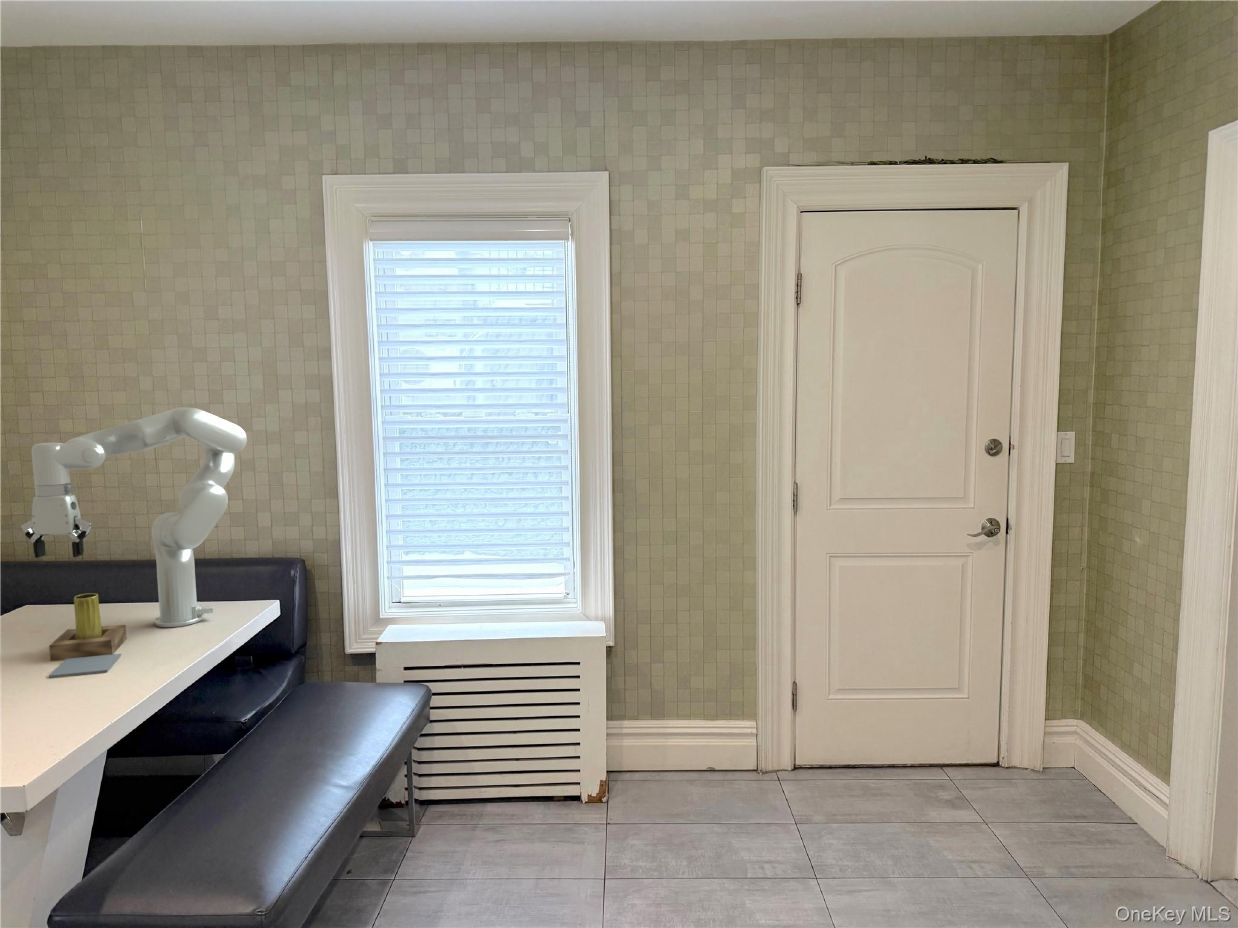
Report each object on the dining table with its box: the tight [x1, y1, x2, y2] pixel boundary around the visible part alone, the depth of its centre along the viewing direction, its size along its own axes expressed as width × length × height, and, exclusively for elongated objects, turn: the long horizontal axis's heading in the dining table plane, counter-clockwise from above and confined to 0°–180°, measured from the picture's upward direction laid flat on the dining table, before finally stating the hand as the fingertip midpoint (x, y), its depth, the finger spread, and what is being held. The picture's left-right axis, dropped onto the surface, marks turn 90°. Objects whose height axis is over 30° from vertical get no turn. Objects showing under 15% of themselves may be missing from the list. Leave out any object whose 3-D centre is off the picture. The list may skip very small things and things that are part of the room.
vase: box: [73, 592, 102, 640], centre depth 210 cm, size 6×6×14 cm
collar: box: [48, 624, 127, 662], centre depth 211 cm, size 14×14×4 cm
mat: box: [48, 653, 122, 679], centre depth 199 cm, size 12×12×1 cm
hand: (59, 556), depth 211 cm, fingers open, 9 cm apart
